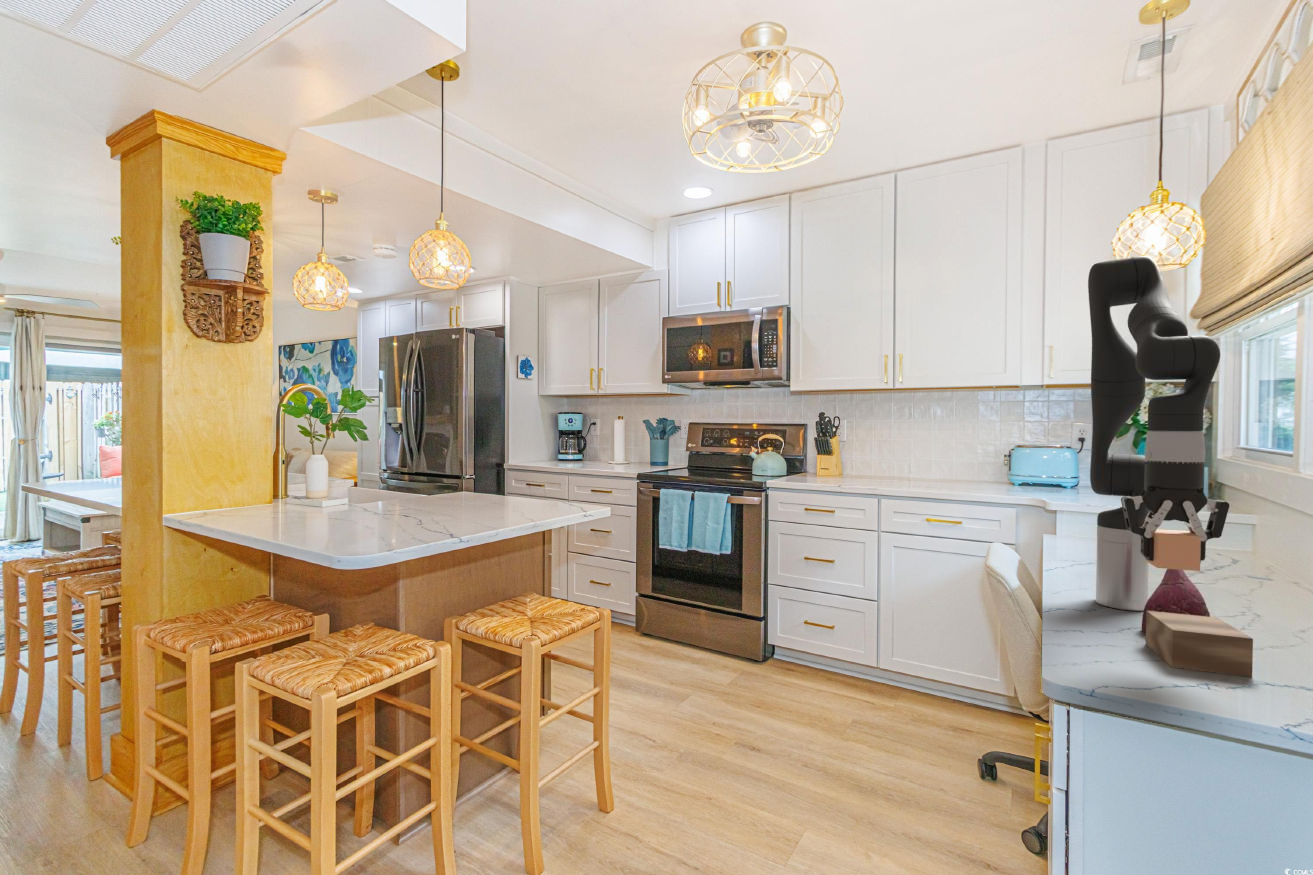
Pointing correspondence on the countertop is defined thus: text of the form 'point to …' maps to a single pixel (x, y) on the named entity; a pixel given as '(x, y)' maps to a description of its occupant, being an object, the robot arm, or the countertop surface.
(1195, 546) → the block
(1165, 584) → the vegetable
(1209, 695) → the countertop surface
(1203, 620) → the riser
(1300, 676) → the countertop surface
